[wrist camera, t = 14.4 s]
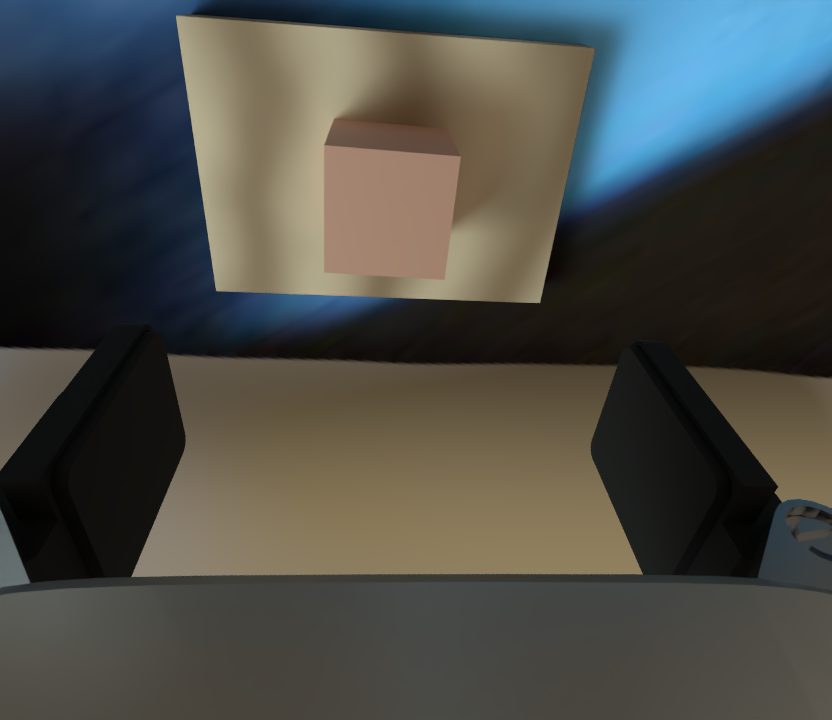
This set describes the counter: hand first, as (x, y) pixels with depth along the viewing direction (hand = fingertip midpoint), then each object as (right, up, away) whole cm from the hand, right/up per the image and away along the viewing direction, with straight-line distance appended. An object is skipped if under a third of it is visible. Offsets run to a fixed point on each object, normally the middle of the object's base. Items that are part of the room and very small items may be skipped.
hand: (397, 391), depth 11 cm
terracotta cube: (-1, +9, +14) cm, 17 cm away
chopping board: (-1, +10, +16) cm, 19 cm away
